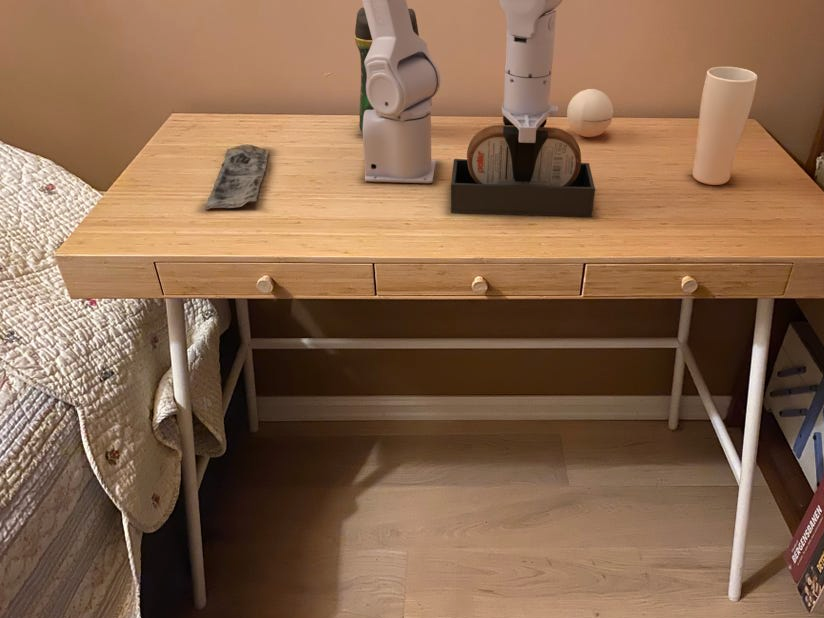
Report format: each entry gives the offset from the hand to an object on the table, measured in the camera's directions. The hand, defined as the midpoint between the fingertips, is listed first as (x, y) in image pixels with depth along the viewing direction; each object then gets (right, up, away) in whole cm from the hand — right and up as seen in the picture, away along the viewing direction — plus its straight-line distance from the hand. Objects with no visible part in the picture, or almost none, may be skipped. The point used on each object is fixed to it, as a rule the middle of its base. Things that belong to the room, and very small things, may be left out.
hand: (522, 176), depth 105 cm
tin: (0, -2, +1) cm, 2 cm away
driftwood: (-39, +1, +6) cm, 40 cm away
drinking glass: (+28, +2, +10) cm, 30 cm away
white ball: (+13, +12, +23) cm, 29 cm away
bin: (0, -3, +2) cm, 4 cm away
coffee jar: (-20, +12, +22) cm, 32 cm away
